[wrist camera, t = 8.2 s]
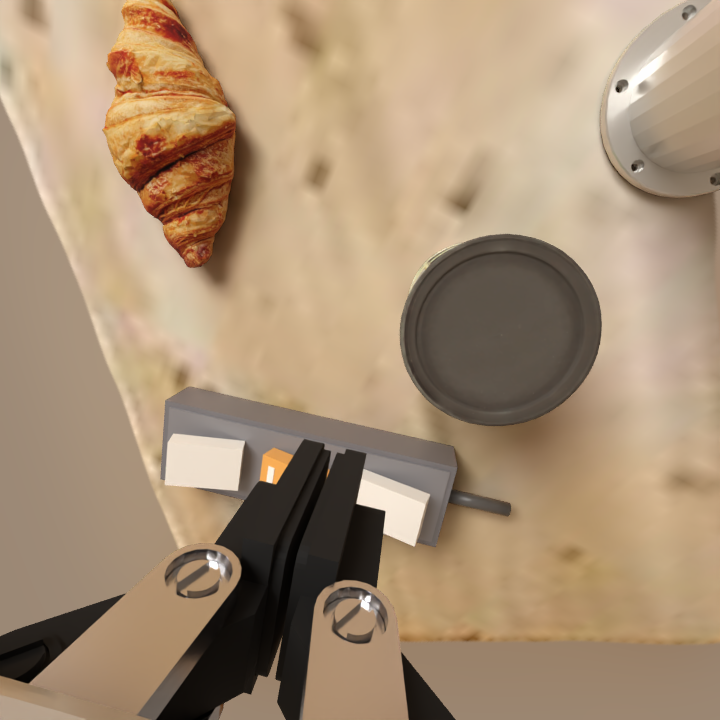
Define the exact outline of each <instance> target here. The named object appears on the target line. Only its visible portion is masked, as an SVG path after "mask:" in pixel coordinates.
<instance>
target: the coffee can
mask: <svg viewBox="0 0 720 720" xmlns="http://www.w3.org/2000/svg"><path fill="white" fill-rule="evenodd" d="M601 327H602V321H601V311H600V305H599V301H598V298H597V295H596V292H595V290H594V288H593V285H592V284H591V282H590V280H589V279H588V277H587V276H586V274H585V273H584V271H583V270H582V269H581V268H580V267H579V266H578V264H577V263H576V262H575V261H574V260H573V259H572V258H570V257H569V256H568V255H567V254H566V253H564V252H563V251H562V250H560V249H558V248H556V247H555V246H553V245H551V244H549V243H546V242H544V241H542V240H539V239H536V238H532V237H527V236H522V235H512V234H500V235H489V236H484V237H479V238H476V239H473V240H469V241H467V242H464V243H460V244H455V245H452V246H450V247H447V248H445V249H443V250H441V251H439V252H438V253H436V254H435V255H433V256H432V257H431V258H429V259H428V260H427V261H426V262H425V263H424V264H423V265H422V267H421V268H420V269H419V271H418V272H417V274H416V276H415V278H414V280H413V282H412V285H411V287H410V291H409V296H408V298H407V300H406V303H405V306H404V309H403V313H402V317H401V323H400V346H401V352H402V357H403V361H404V364H405V367H406V369H407V372H408V374H409V376H410V377H411V379H412V381H413V383H414V384H415V386H416V387H417V388H418V390H419V391H420V392H421V393H422V395H423V396H424V397H425V398H426V399H427V400H428V401H429V402H430V403H431V404H433V405H434V406H435V407H437V408H438V409H439V410H441V411H443V412H444V413H446V414H448V415H450V416H452V417H454V418H456V419H459V420H462V421H465V422H468V423H472V424H478V425H485V426H505V425H514V424H519V423H523V422H527V421H530V420H532V419H536V418H538V417H540V416H542V415H544V414H546V413H548V412H550V411H552V410H553V409H555V408H556V407H558V406H559V405H560V404H562V403H563V402H564V401H565V400H566V399H568V398H569V397H570V396H571V395H572V394H573V393H574V392H575V391H576V390H577V388H578V387H579V386H580V385H581V384H582V383H583V381H584V380H585V378H586V377H587V375H588V374H589V372H590V370H591V368H592V366H593V364H594V362H595V359H596V356H597V354H598V349H599V345H600V339H601Z"/></svg>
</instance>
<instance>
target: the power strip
mask: <svg viewBox="0 0 720 720" xmlns="http://www.w3.org/2000/svg"><path fill="white" fill-rule="evenodd" d="M173 434H183V435H193V436H203V437H212V438H222V439H232V440H242V441H245V447H244V455H243V463H242V472H241V480H240V484H239V488H238V491H233V490H221V489H209V488H198V489H202V490H206V491H210V492H214V493H218V494H222V495H226V496H230V497H235V498H239V499H243V500H245V499H246V498H247V497H248V495H249V494H250V492H251V491H252V489H253V488H254V487H255V485H256V484H257V483H258V482H259V481H260V474H261V467H262V459H263V454H265V453H266V452H268V451H269V450H271V449H272V448H276V449H279V450H281V451H284V452H286V453H289V454H291V455H294V454H295V452H296V451H297V449H298V447H299V446H300V444H301V443H302V441H303V440H304V439H307V440H311V441H315V442H320V443H324V444H325V447H324V449H325V450H330V451H331V456H330V462H329V467H328V469H329V470H330V469H331V466H332V464H333V461H334V459H335V456H336V454H337V452H338V453H342V454H345V451H346V449H350V450H354V451H358V452H363V453H367V454H366V460H365V464H364V469H365V470H368V471H371V472H373V473H376V474H378V475H381V476H384V477H386V478H389V479H392V480H394V481H397V482H399V483H402V484H405V485H407V486H410V487H412V488H415V489H418V490H420V491H423V492H425V493H428V494H430V498H429V501H428V505H427V509H426V513H425V517H424V520H423V524H422V528H421V532H420V536H419V538H418V540H417V543H421V544H425V545H429V546H433V547H436V544H437V540H438V537H439V533H440V529H441V526H442V522H443V519H444V515H445V511H446V508H447V504H448V502H449V503H453V504H457V505H461V506H466V507H470V508H474V509H478V510H482V511H487V512H491V513H495V514H499V515H503V516H509V515H510V511H511V504H510V503H508V502H504V501H500V500H496V499H491V498H487V497H483V496H479V495H474V494H470V493H466V492H462V491H457V490H453V489H452V486H453V482H454V479H455V475H456V472H457V462H456V457H455V452H454V447H453V446H449V445H445V444H440V443H436V442H431V441H427V440H422V439H418V438H414V437H409V436H405V435H400V434H396V433H392V432H387V431H383V430H378V429H374V428H370V427H365V426H361V425H356V424H352V423H348V422H343V421H339V420H334V419H330V418H325V417H321V416H317V415H312V414H308V413H303V412H299V411H295V410H290V409H286V408H281V407H277V406H273V405H268V404H264V403H259V402H255V401H251V400H246V399H242V398H237V397H233V396H229V395H224V394H220V393H215V392H211V391H206V390H202V389H198V388H193V387H187V388H186V389H184V390H182V391H181V392H179V393H177V394H175V395H174V396H172V397H170V398H169V399H167V400H165V415H164V431H163V447H162V463H161V479H162V480H165V474H166V459H167V444H168V441H169V440H170V438H171V436H172V435H173ZM194 488H197V487H194ZM383 534H384V533H383ZM384 535H386V534H384Z"/></svg>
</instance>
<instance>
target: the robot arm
mask: <svg viewBox="0 0 720 720" xmlns="http://www.w3.org/2000/svg"><path fill="white" fill-rule="evenodd" d="M682 16H683V17H684V19H683V17H682ZM616 87H617V88H619V93H617V92H616V90H615V88H616ZM600 124H601V135H602V139H603V144H604V148H605V150H606V152H607V154H608V157H609V159H610V161H611V163H612V164H613V165H614V167H615V168H616V169H617V171H618V172H619V174H620V175H621V176H623V177H624V178H625V179H626V180H627V181H628V182H630V183H631V184H632V185H634V186H636V187H637V188H639V189H641V190H643V191H645V192H647V193H651V194H655V195H658V196H662V197H674V198H682V197H691V196H698V195H703V194H707V193H711V192H715V191H717V190H720V0H687V1H684V2H682V3H680V4H678V5H676V6H675V7H673V8H671V9H669V10H668V11H666V12H664V13H663V14H661V15H660V16H659V17H658V18H656V19H655V20H654V21H653V22H652V23H650V24H649V25H648V26H647V27H645V28H644V29H643V31H642V32H641V33H640V34H639V35H638V36H637V37H636V38H635V39H634V40H633V41H632V42H631V43H630V44H629V46H628V47H627V48H626V50H625V51H624V52H623V54H622V55H621V56H620V58H619V59H618V61H617V63H616V65H615V67H614V69H613V71H612V72H611V74H610V76H609V79H608V82H607V85H606V88H605V91H604V94H603V99H602V105H601V111H600ZM631 165H634V166H635V170H634V171H632V169H631ZM710 178H711V180H712V182H711V183H710ZM324 447H325V444H324V443H320V442H315V441H311V440H307V439H304V440H303V441H302V443H301V444H300V446H299V447H298V449H297V451H296V452H295V454H294V456H293V457H292V459H291V461H290V462H289V464H288V466H287V467H286V469H285V470H284V472H283V474H282V475H281V477H280V479H279V480H278V482H277V484H273V483H268V482H264V481H259V482H258V483H257V484H256V485H255V487H254V488H253V489H252V491H251V492H250V494H249V495H248V497H247V498H246V499H245V501H244V502H243V504H242V505H241V507H240V508H239V510H238V511H237V512H236V514H235V515H234V517H233V518H232V520H231V521H230V522H229V524H228V525H227V527H226V528H225V530H224V531H223V533H222V534H221V535H220V537H219V538H218V540H217V541H216V543H215V544H206V543H199V544H194V545H189V546H185V547H183V548H181V549H178V550H176V551H174V552H173V553H171V554H170V555H169V556H167V557H166V558H164V559H163V560H162V561H161V562H160V563H159V564H158V565H157V566H156V567H155V568H154V569H153V570H151V571H150V572H149V573H148V574H147V575H146V576H145V577H144V578H143V579H142V580H141V581H140V582H139V583H138V584H136V585H135V586H134V587H133V588H132V589H131V590H130V591H129V592H128V593H126V594H123V595H120V596H117V597H114V598H111V599H108V600H105V601H101V602H98V603H96V604H92V605H89V606H86V607H84V608H80V609H77V610H74V611H71V612H68V613H65V614H62V615H59V616H56V617H53V618H50V619H47V620H44V621H41V622H38V623H35V624H32V625H29V626H26V627H23V628H20V629H17V630H14V631H12V632H9V633H7V634H5V635H2V636H0V720H219V718H220V716H221V713H222V711H223V708H224V703H225V702H227V701H229V700H231V699H232V698H234V697H236V696H238V695H240V694H242V693H243V692H244V693H248V694H251V693H252V690H253V688H254V685H255V682H256V680H257V677H258V675H261V676H265V677H267V676H268V675H269V672H270V669H271V667H272V664H273V661H274V658H275V655H276V653H277V650H278V647H279V644H280V641H281V638H282V642H281V648H280V654H279V661H278V666H277V672H276V680H279V681H281V683H280V689H279V695H278V701H277V703H278V705H279V707H280V709H281V711H282V713H283V715H284V717H285V719H286V720H455V718H454V717H453V716H452V715H451V713H450V712H449V711H448V710H447V708H446V707H445V706H444V705H443V703H442V702H441V701H440V700H439V698H438V697H437V696H436V695H435V693H434V692H433V691H432V690H431V689H430V687H429V686H428V685H427V683H426V682H425V681H424V680H423V678H422V677H421V676H420V675H419V673H418V672H417V671H416V670H415V669H414V667H413V666H412V665H411V663H410V662H409V661H408V660H407V659H406V657H405V656H404V655H403V654H402V652H401V649H400V640H399V632H398V623H397V617H396V614H395V610H394V607H393V606H392V604H391V603H390V601H389V599H388V598H387V597H386V596H385V595H384V594H383V593H382V592H381V591H379V590H378V589H377V580H378V571H379V563H380V555H381V547H382V538H383V530H384V522H385V513H386V512H385V511H384V510H380V509H376V508H372V507H368V506H363V505H359V504H356V503H357V498H358V493H359V488H360V484H361V479H362V474H363V469H364V464H365V460H366V454H367V453H363V452H358V451H354V450H350V449H346V451H345V454H342V453H338V452H337V454H336V456H335V459H334V461H333V464H332V466H331V469H330V471H329V474H328V476H327V473H328V467H329V462H330V456H331V451H330V450H325V449H324ZM326 478H327V479H326ZM282 636H283V637H282Z"/></svg>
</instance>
